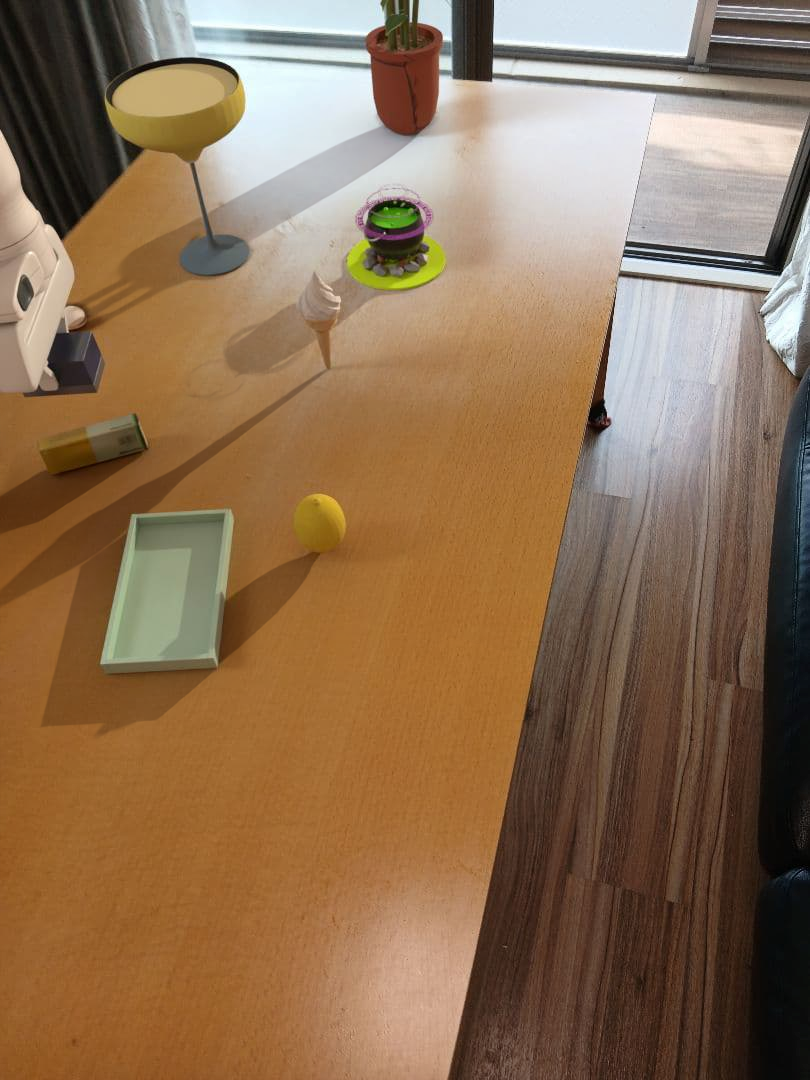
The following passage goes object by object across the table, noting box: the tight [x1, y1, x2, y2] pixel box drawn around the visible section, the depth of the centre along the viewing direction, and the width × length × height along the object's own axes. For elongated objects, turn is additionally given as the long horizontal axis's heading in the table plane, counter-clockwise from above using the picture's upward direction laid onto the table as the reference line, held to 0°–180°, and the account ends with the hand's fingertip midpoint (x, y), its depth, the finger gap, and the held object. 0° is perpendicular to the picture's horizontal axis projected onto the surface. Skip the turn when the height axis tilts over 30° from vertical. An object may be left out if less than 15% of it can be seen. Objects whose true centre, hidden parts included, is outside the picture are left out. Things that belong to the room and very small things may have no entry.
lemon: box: [293, 493, 347, 554], centre depth 87 cm, size 6×6×8 cm
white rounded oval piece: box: [65, 305, 88, 331], centre depth 115 cm, size 4×5×2 cm
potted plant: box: [364, 0, 452, 136], centre depth 134 cm, size 17×16×35 cm
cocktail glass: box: [104, 56, 250, 277], centre depth 116 cm, size 18×18×25 cm
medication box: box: [37, 412, 149, 476], centre depth 99 cm, size 12×3×4 cm, turn 112°
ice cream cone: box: [295, 270, 342, 370], centre depth 103 cm, size 6×6×15 cm
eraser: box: [22, 330, 106, 398], centre depth 89 cm, size 8×5×4 cm, turn 93°
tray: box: [99, 508, 235, 675], centre depth 87 cm, size 11×19×2 cm, turn 2°
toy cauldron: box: [346, 183, 447, 291], centre depth 119 cm, size 15×15×11 cm
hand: (58, 367), depth 89 cm, fingers closed on eraser, 5 cm apart
